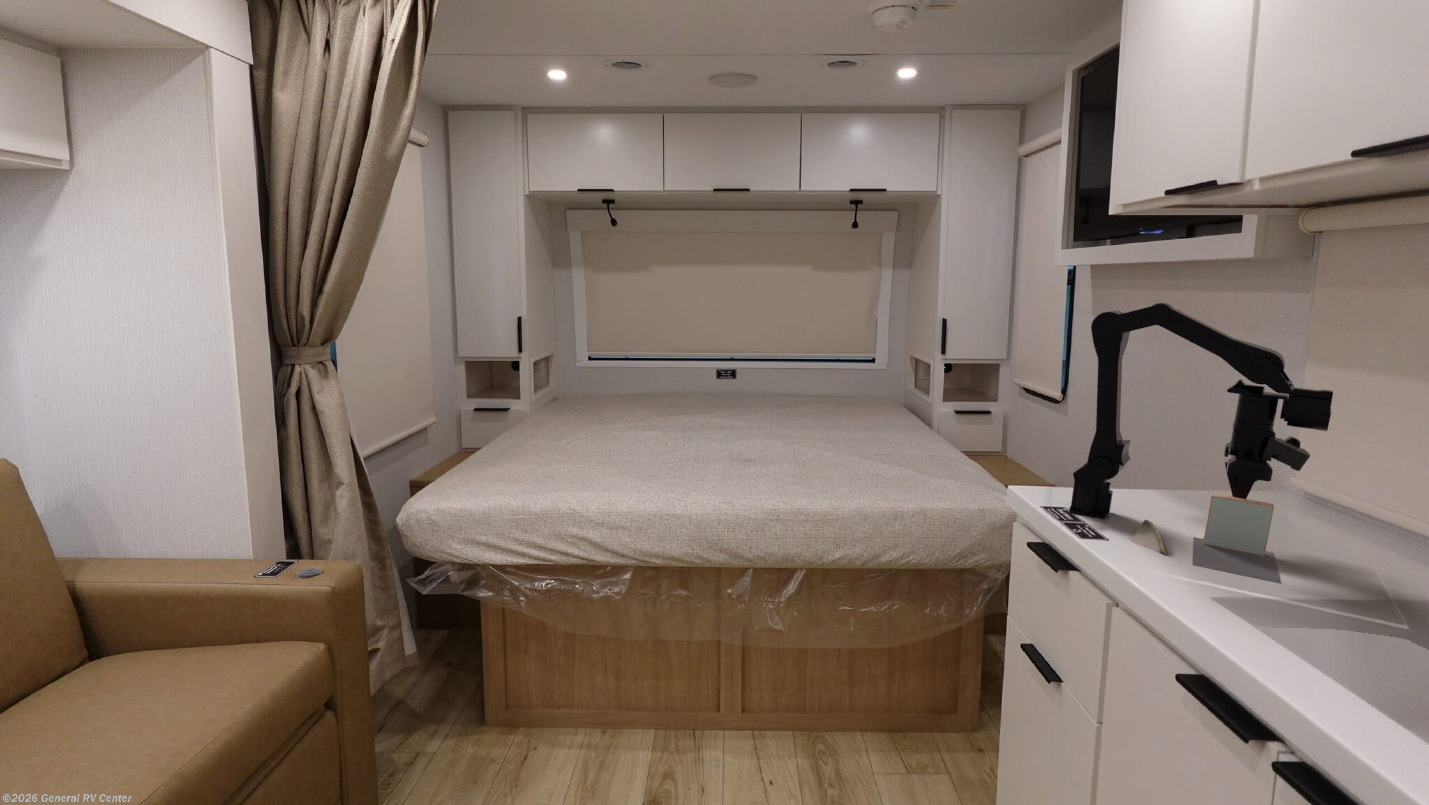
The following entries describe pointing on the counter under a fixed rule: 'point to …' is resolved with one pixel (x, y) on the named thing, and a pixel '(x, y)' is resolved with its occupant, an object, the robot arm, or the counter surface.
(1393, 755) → the counter surface
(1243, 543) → the tile
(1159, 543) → the ceramic fragment
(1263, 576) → the mat
